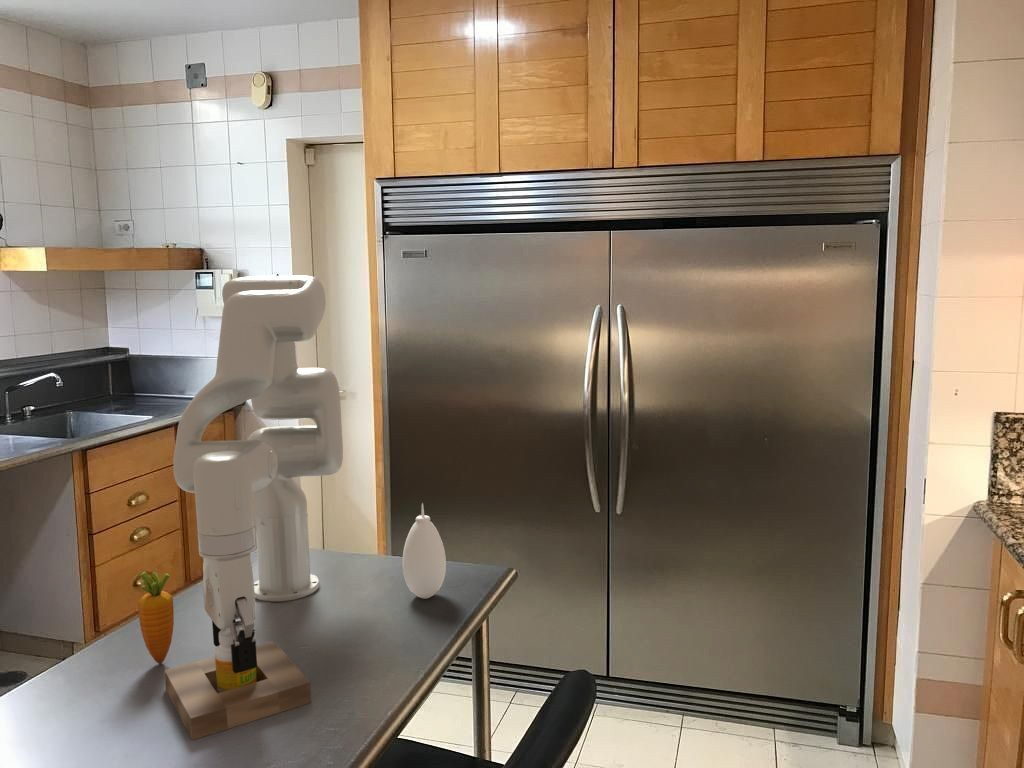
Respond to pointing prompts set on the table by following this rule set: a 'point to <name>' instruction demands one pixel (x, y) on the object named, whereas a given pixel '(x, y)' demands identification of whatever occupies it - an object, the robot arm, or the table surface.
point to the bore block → (235, 692)
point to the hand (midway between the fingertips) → (234, 656)
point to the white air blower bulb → (424, 558)
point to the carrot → (156, 616)
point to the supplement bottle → (229, 665)
